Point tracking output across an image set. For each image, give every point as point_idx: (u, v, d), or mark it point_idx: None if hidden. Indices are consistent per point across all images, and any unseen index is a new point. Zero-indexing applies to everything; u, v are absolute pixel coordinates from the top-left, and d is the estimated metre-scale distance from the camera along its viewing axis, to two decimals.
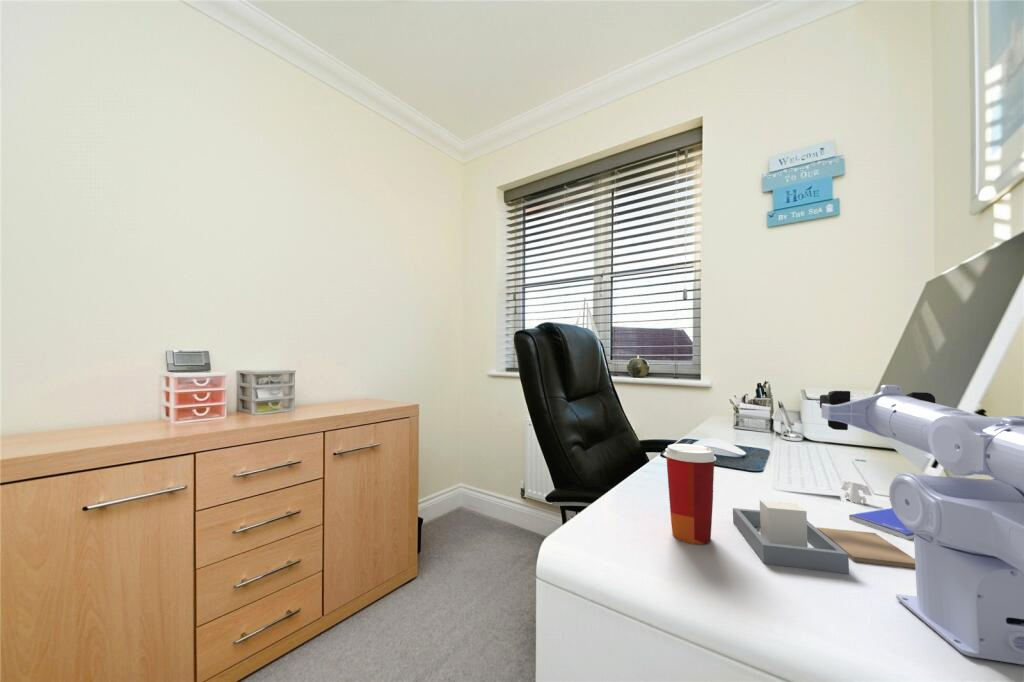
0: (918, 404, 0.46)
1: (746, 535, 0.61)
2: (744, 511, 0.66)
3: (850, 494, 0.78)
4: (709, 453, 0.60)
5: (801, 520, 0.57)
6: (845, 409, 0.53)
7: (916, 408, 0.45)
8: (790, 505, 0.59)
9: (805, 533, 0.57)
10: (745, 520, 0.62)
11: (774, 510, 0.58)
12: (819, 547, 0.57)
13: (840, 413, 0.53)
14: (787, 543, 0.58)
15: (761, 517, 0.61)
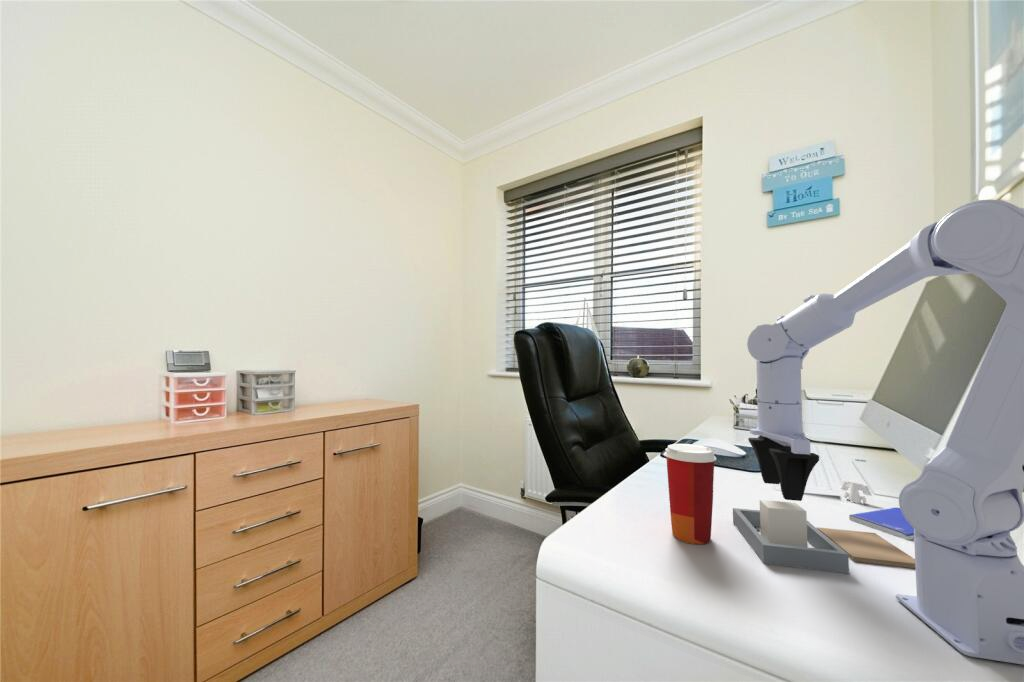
0: None
1: (746, 535, 0.61)
2: (744, 511, 0.66)
3: (850, 494, 0.78)
4: (709, 453, 0.60)
5: (801, 520, 0.57)
6: None
7: (757, 385, 0.62)
8: (790, 505, 0.59)
9: (805, 533, 0.57)
10: (745, 520, 0.62)
11: (774, 510, 0.58)
12: (819, 547, 0.57)
13: (797, 438, 0.54)
14: (787, 543, 0.58)
15: (761, 517, 0.61)
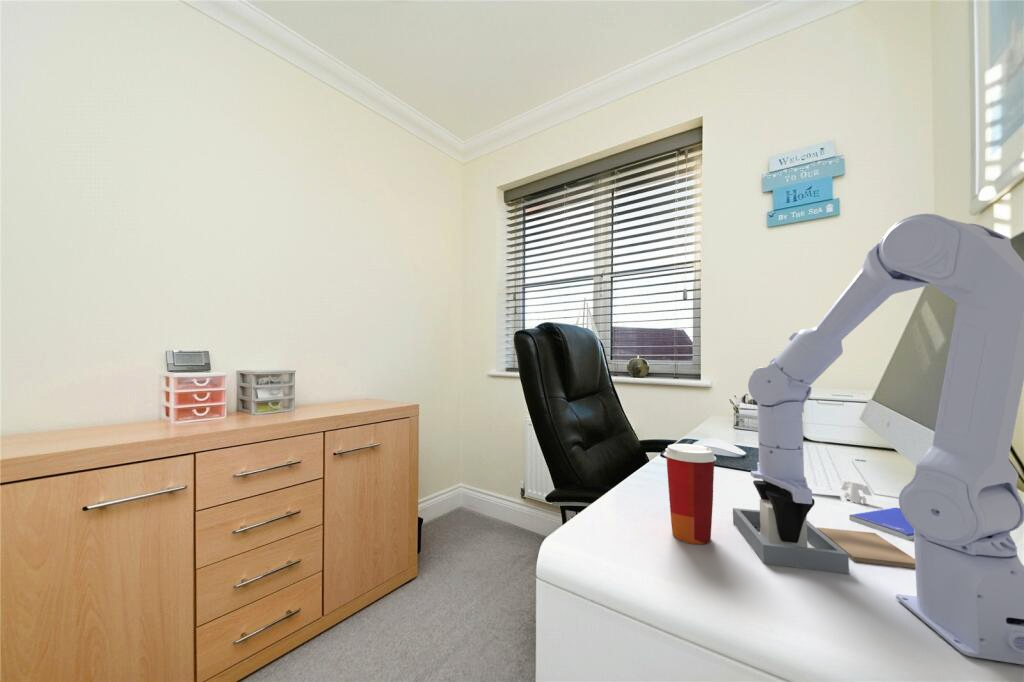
0: None
1: (746, 535, 0.61)
2: (744, 511, 0.66)
3: (850, 494, 0.78)
4: (709, 453, 0.60)
5: None
6: None
7: (758, 427, 0.62)
8: None
9: (805, 533, 0.57)
10: (745, 520, 0.62)
11: None
12: (819, 547, 0.57)
13: (798, 486, 0.54)
14: (787, 543, 0.58)
15: (761, 517, 0.61)
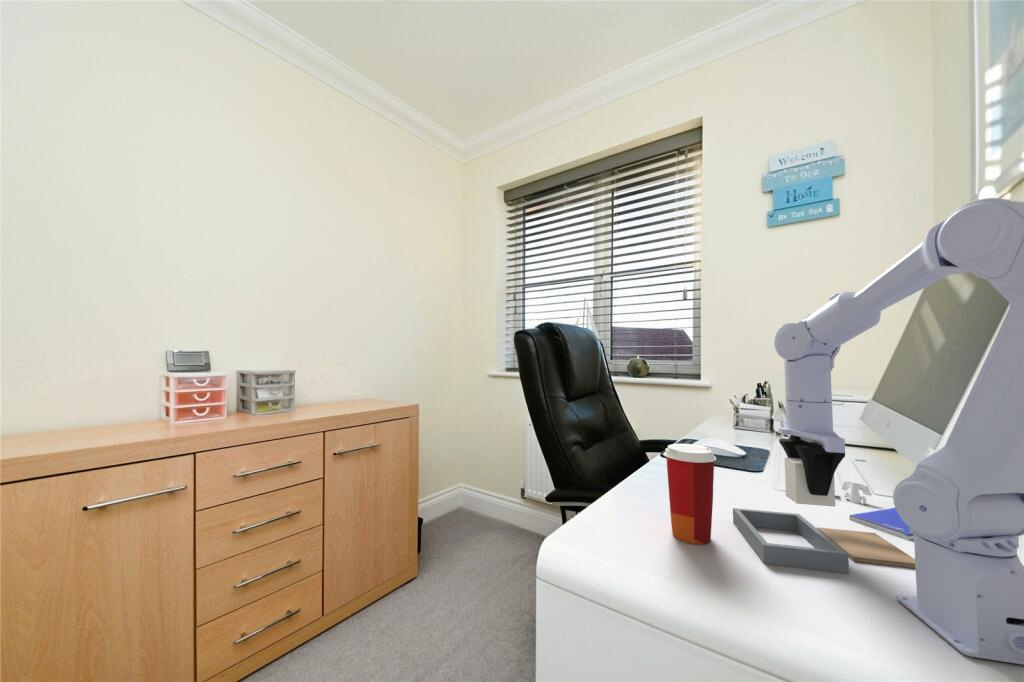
0: None
1: (746, 535, 0.61)
2: (744, 511, 0.66)
3: (850, 494, 0.78)
4: (709, 453, 0.60)
5: None
6: None
7: None
8: None
9: (832, 487, 0.57)
10: (745, 520, 0.62)
11: (801, 465, 0.58)
12: (819, 547, 0.57)
13: (830, 436, 0.54)
14: (814, 498, 0.58)
15: (787, 475, 0.61)
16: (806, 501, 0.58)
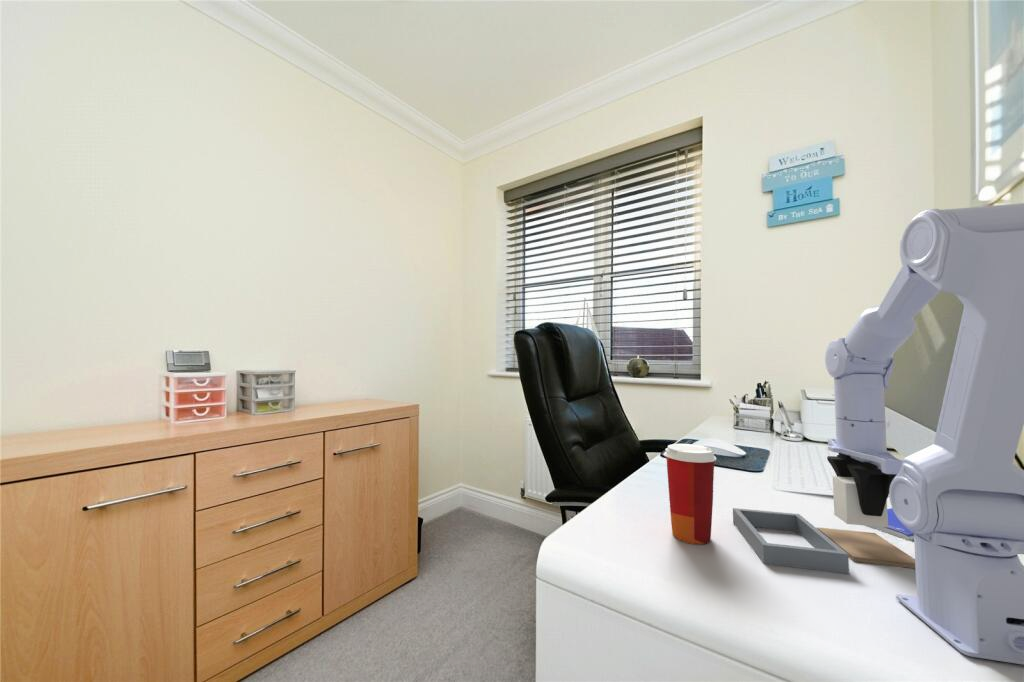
0: None
1: (746, 535, 0.61)
2: (744, 511, 0.66)
3: None
4: (709, 453, 0.60)
5: None
6: None
7: None
8: None
9: (885, 508, 0.56)
10: (745, 520, 0.62)
11: (852, 485, 0.58)
12: (819, 547, 0.57)
13: (886, 457, 0.53)
14: (866, 518, 0.57)
15: (836, 494, 0.60)
16: (857, 522, 0.57)
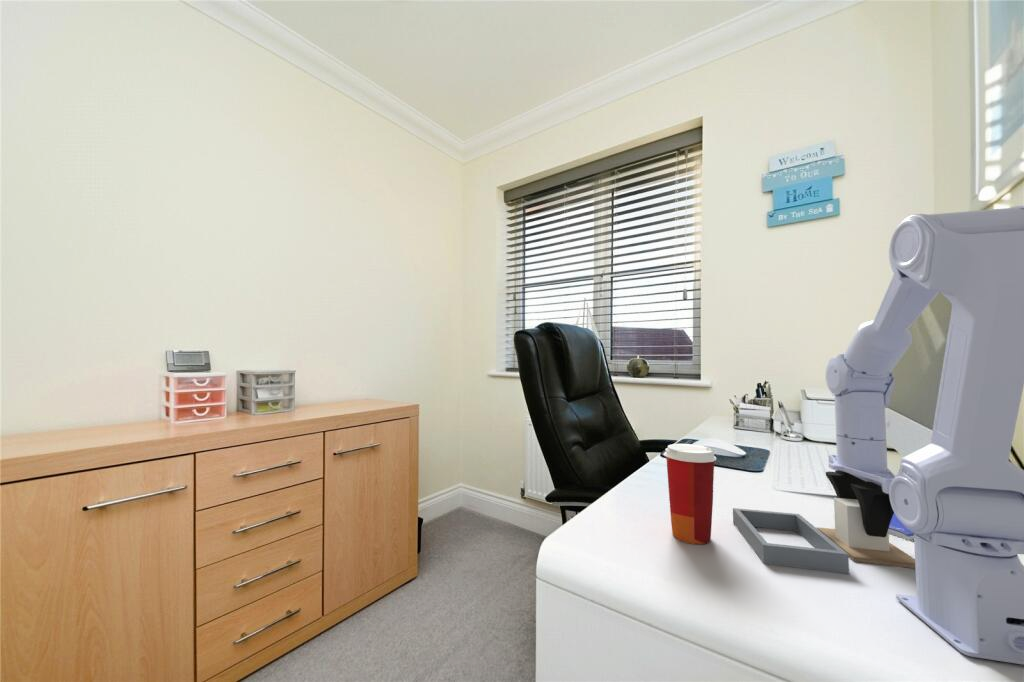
0: None
1: (746, 535, 0.61)
2: (744, 511, 0.66)
3: None
4: (709, 453, 0.60)
5: None
6: None
7: None
8: None
9: None
10: (745, 520, 0.62)
11: (854, 507, 0.57)
12: (819, 547, 0.57)
13: (887, 477, 0.53)
14: (867, 541, 0.57)
15: (837, 516, 0.60)
16: (858, 545, 0.57)
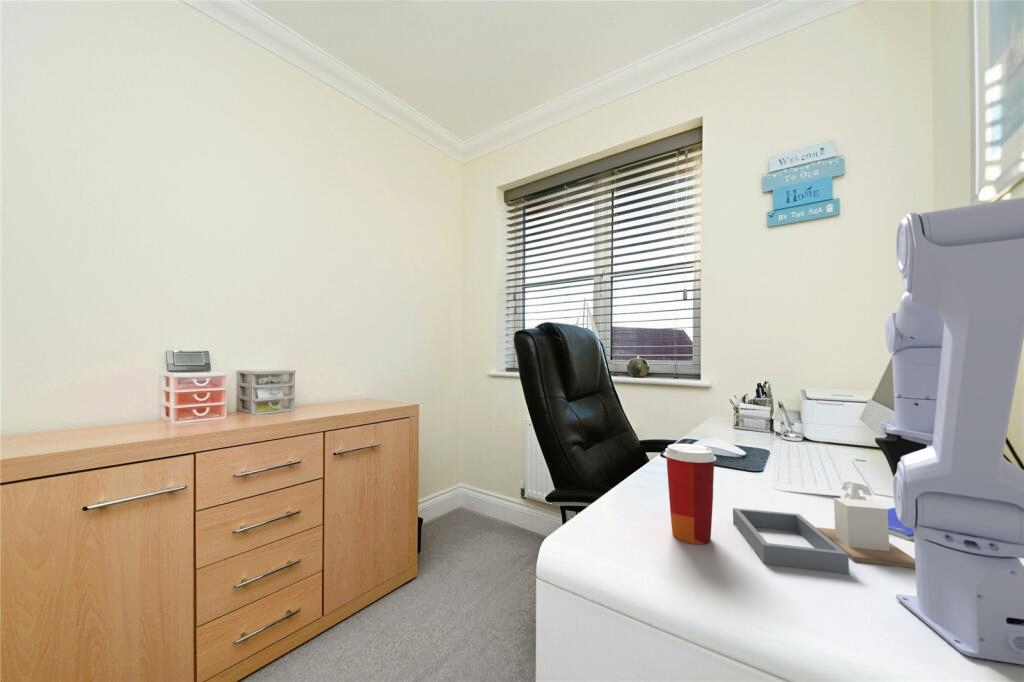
0: None
1: (746, 535, 0.61)
2: (744, 511, 0.66)
3: (850, 494, 0.78)
4: (709, 453, 0.60)
5: (882, 518, 0.56)
6: None
7: None
8: (868, 503, 0.58)
9: (886, 531, 0.56)
10: (745, 520, 0.62)
11: (854, 507, 0.57)
12: (819, 547, 0.57)
13: None
14: (867, 541, 0.57)
15: (837, 516, 0.60)
16: (858, 545, 0.57)
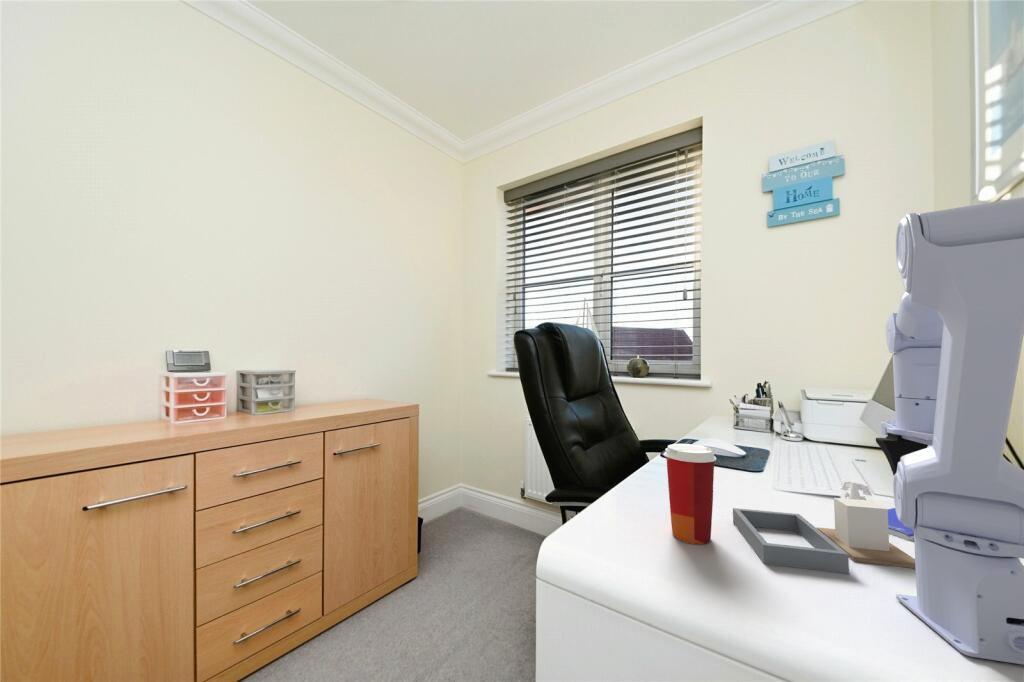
0: None
1: (746, 535, 0.61)
2: (744, 511, 0.66)
3: (850, 494, 0.78)
4: (709, 453, 0.60)
5: (882, 518, 0.56)
6: None
7: None
8: (868, 503, 0.58)
9: (886, 531, 0.56)
10: (745, 520, 0.62)
11: (854, 507, 0.57)
12: (819, 547, 0.57)
13: None
14: (867, 541, 0.57)
15: (837, 516, 0.60)
16: (858, 545, 0.57)
